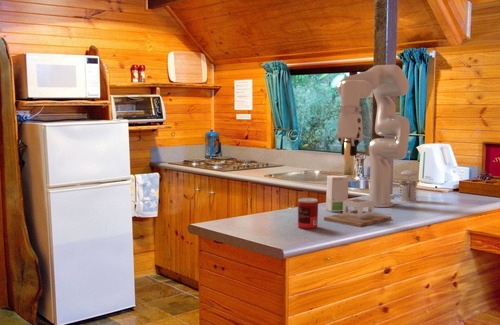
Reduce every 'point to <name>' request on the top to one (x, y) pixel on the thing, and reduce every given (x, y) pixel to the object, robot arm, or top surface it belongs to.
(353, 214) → the collar cage
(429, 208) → the top surface
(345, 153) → the brass tube
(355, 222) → the stand board
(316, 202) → the canned food
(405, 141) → the robot arm
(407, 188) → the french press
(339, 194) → the skincare box
